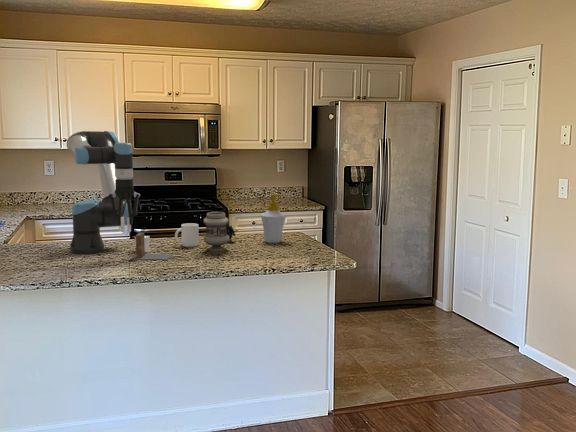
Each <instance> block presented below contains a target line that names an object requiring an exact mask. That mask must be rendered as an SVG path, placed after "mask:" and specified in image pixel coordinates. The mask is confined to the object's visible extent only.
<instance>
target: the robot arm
mask: <svg viewBox="0 0 576 432" xmlns="http://www.w3.org/2000/svg"><path fill="white" fill-rule="evenodd" d="M66 149H67V150H68V152H70V153H71V154H73V155H74V161H75V164H77V165H97V168H98V173H99V179H100V185H101V190H102V194H103V198H102V199H101V200H100V201H101V202H100V201H99V200H98V199H86V200H80V201H78V202H75V203H73V205H72V206H71V207H72V208H71V215H72V231H73V232H72V239H71V242H70V246H69V252H70V253H72V254H81V255H84V254H86V255H87V254H94V253H95V254H96V253H100V252H103V251H105V243H104V241H103V239H102V235H101V231H100V230H101V228H110V227H113V228H114V227H120V232H121V233H124V232H125V231H126V230H125V226H127V233H131V232H132V225H133V224H134V217H135V216H137V215H138V210H139V200H140V199H139V198H140V197H141V193H138V192H136V191H135V189H134V179H133V178H134V168H133V167H134V165H133V153H134V150H133V145H132V143H130V142H120V141H119V138H118V136H117V134H116V133H115V132H113V131H107V130H104V131H102V130H101V131H100V130H99V131H95V130H94V131H93V130H92V131H91V130H89V131H87V130H82V131H77V132H75V133H73V134H71V135H70V136H69V137H68V138H67V140H66ZM132 197H133V198H134V200H133V204H132ZM132 205H133V207H132Z"/></svg>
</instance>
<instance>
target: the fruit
mask: <svg viewBox="0 0 576 432" xmlns="http://www.w3.org/2000/svg"><path fill="white" fill-rule="evenodd" d="M226 231H227V235H228V236H229V238H230V239H229V241H230V242H231V241H232V239H233V237H236V233H237V232H238V231H239V230H238V229H236V230H235V229H234V228H233V226H232V225H229V223H228V224H227V225H226Z"/></svg>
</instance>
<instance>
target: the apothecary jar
mask: <svg viewBox="0 0 576 432" xmlns="http://www.w3.org/2000/svg"><path fill="white" fill-rule="evenodd" d="M229 222H230V221H229V218H228V217H226V212H224V211H211V212H207V213H206V217H204V218H203V224H204V225H205V235H204V236H203V241H204V243H205V244H207V245H209V246H210V247H209V248H207V249H206V250H205V251H206V252H208V253H212V254H218V253H219V254H221V253H225V252H228V249H227V248H226V247H224V245H226V244H227V243H229V241H230V240H229V239H230V238H229V236H228V235H227V231H226V225H227V224H229Z"/></svg>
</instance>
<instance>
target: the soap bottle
mask: <svg viewBox="0 0 576 432" xmlns="http://www.w3.org/2000/svg"><path fill="white" fill-rule="evenodd" d="M268 195H269V196H270V199H271V201H270V202H269V205H267V210H266V211H265V212H263V213H261V214H260V219H261V221H262V227H263V241H264V242H265V243H268V244H278V243H281V242H282V240H283V228H284V223H285V219H286V217H287V216H286V214H285V213H283V212H281V211H280V210H279V205H278V204H277V201H275V200H276V198H277V197H281V196H285V193H268Z"/></svg>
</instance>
